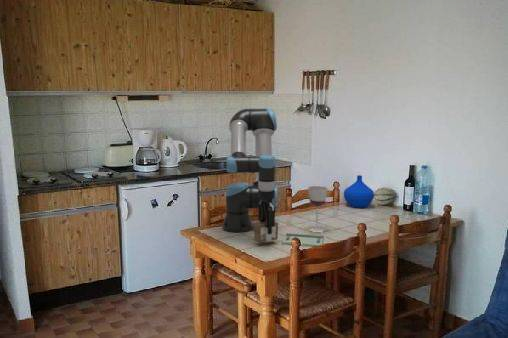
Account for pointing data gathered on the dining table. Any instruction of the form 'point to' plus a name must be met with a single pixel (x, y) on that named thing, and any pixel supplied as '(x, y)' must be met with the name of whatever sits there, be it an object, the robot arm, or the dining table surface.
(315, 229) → the wineglass
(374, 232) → the dining table surface
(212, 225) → the dining table surface
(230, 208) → the robot arm
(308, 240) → the ledge board
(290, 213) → the dining table surface
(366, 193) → the vase
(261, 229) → the frame
